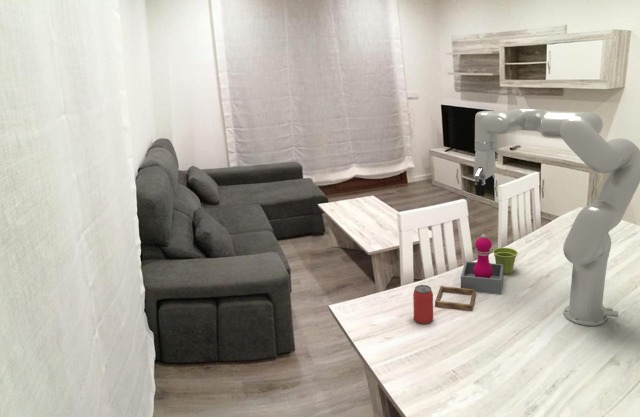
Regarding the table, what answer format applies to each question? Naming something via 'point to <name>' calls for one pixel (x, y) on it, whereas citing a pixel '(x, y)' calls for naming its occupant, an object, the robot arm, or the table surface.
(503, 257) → the plant pot
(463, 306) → the brown wooden picture frame
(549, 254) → the table surface
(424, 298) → the beer can
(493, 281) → the bin
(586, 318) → the robot arm
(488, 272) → the pepper mill
